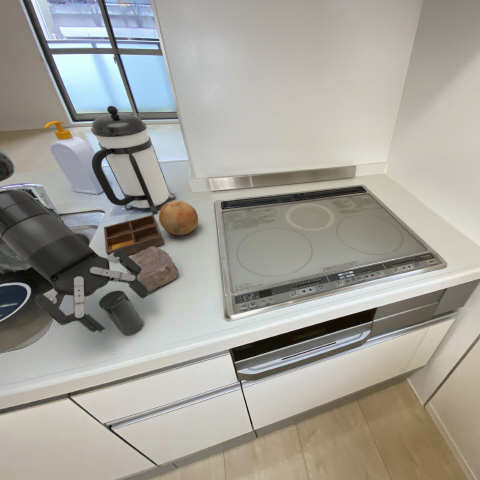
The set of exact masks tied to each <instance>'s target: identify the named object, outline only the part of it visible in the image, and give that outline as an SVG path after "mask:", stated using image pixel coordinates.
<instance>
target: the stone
mask: <svg viewBox="0 0 480 480" xmlns="http://www.w3.org/2000/svg"><path fill="white" fill-rule="evenodd" d="M130 258H131V259H132V260H133V261H134V262H135V263H136V264H137V265H138V266H140V267H141V269H142V270H141V272H140V273H139V274H138V276H137V280H138V281H139V282H140V283H141V284H142V285H143V286H144V287H146V288H147V290H148V292H152V291H154V290H156V289H157V288H161V287H162V286H163V285H166V284H168V283H170V282H172V281H174V280H175V279H177V278H178V276H179V269H178V268H177V266H176V264H175V262H174V260H173V258H172V256H170V254H169V252H167V251H165V250H164V249H161V248H159V247H154V246H151V247H149V248H147V249H146V250H142V251H141V252H139V253H136V254H133V255H130ZM126 271H127V274H131V273H130V272H129V271H128V270H127V269H126Z"/></svg>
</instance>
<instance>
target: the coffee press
mask: <svg viewBox="0 0 480 480" xmlns="http://www.w3.org/2000/svg"><path fill="white" fill-rule="evenodd" d="M106 110H107V112H108V113H109V114H105V115H102V116H99V117H97V118H95V119H94V120H93V121H92V123H91V128H90V131H91V133H92V134H93V136H95V137H96V140H97V141H98V146H99V148H100V150H98V151H96V152H95V155H94V156H93V158H92V168H93V171H94V173H95V176H96V178H97V180H98V182H99V183H100V185H101V187H102V189H103V192H104V195H105V196H106V198H107V199H108V201H109V202H110V203H111V204H113V205H115V206H119V207H123V206H124V209H125V210H126V211H130V210H132V208H133V207H134V208H138V209H149V208H150V211H151V213H152V215H155V214H158V210H157V208H156V207H158V206H160V205H162V204H163V203H165V202H166V201H167V200H168V199H169V200H172V201H175V199H176V195H175V194H174V193H173V192H171V191H170V189H169V187H168V184H167V181H166V178H165V176H164V172H163V170H162V167H161V164H160V162H159V159H158V156H157V154H156V151H155V148H154V145H153V142H152V140H151V137H150V136H149V134H148V131H147V127H148V126H147V124H146V123H145V122H144V121H143V120H142V118H140V117H138V116H136V115H134V114H130V113H119V109H118V108H117V107H115V106H114V105H109V106H107V109H106ZM104 160H105V161H106V162H107V164H108V167H109V168H110V171H111V173H112V175H113V177H114V179H115V181H116V183H117V184H118V187H119V189H120V191H121V193H122V196H123V198H122V199H120V198H118V197H117V196H116V194H115V192H114V190H113V188H112V185H111V186H110V184H111V183H110V184H109V182H110V181H109V182H108V180H109V179H108V180H107V178H108V177H107V178H106V176H107V175H106V176H105V174H106V173H105V174H104V172H105V171H104V172H103V170H104V169H103V170H102V168H103V165H102V164H103V161H104ZM170 195H171V196H173V197H171V196H170ZM128 205H130V206H129V207H127V206H128Z"/></svg>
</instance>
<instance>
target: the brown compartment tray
mask: <svg viewBox="0 0 480 480" xmlns="http://www.w3.org/2000/svg"><path fill="white" fill-rule="evenodd" d="M103 234H104V245H105V253H106V255H107V256H109V255H110V254H112V253H113V252H114V251H115V250H116V249H120V250H122V251H123V252H124V253H125V254H126V255H127V256H128V257H131V256H133V255H135V254H137V253H139V252H141V251H142V250H146V249H147V248H149V247H151V246H154V247H157V248H159V247H162V246H166V245H165V244H166V243H165V242H164V239H163V236H162V233H161V230H160V227H159V225H158V223H157V219H156V218H155V214H150V215H147V216H142V217H139V218H135V219H130V220H127V221H122V222H118V223H115V224H111V225H107V226H104V227H103Z"/></svg>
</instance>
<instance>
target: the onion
mask: <svg viewBox="0 0 480 480" xmlns="http://www.w3.org/2000/svg"><path fill="white" fill-rule="evenodd" d="M158 220H159V223H160V225H161V227H162V228H163V230H165V232H167V233H169V234H171V235H175V236H185V235H188V234H189V233H191V232H192V231H194V230H195V228H197V226H198V224H199V215H198V213H197V210H196V209H195V208H194V207H193V205H191V204H190V203H188V202H185V201H183V200H172V201H169V202H167V203H165V204H163V205H162V206H161V208H160V210H159V214H158Z"/></svg>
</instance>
